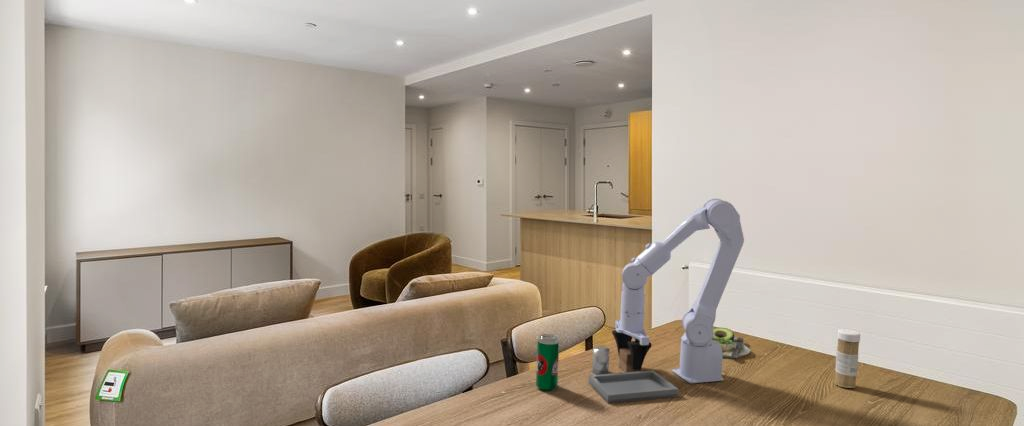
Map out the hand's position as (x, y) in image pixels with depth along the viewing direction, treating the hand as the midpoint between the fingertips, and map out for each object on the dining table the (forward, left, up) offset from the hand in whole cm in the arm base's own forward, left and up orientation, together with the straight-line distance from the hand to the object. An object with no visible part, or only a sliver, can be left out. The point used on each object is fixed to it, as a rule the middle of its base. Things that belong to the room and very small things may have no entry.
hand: (629, 363), depth 133 cm
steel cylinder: (+8, 0, -2) cm, 8 cm away
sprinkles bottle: (-47, +19, -2) cm, 51 cm away
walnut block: (0, 0, -2) cm, 2 cm away
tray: (+5, +11, -2) cm, 12 cm away
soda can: (+24, +6, -2) cm, 25 cm away
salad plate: (-33, -11, -2) cm, 35 cm away
